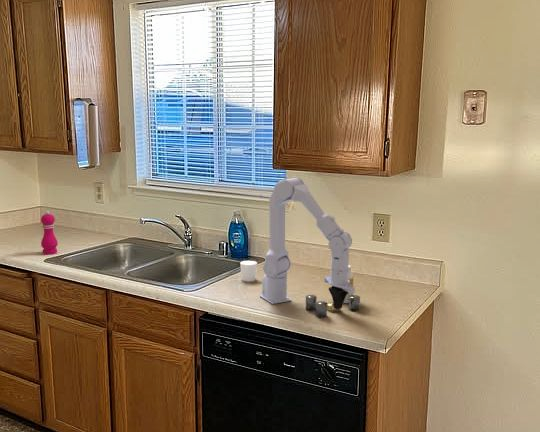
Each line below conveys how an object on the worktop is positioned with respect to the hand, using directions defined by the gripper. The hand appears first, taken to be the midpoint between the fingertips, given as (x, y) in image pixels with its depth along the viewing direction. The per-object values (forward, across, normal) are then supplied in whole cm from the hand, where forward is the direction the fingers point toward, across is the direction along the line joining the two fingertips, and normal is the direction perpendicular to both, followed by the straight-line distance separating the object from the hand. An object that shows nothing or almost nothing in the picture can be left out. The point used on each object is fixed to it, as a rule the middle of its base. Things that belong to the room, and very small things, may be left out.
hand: (338, 308), depth 184 cm
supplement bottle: (+2, +9, -8) cm, 12 cm away
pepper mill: (+2, +126, +74) cm, 146 cm away
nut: (+2, +3, 0) cm, 3 cm away
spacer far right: (+1, 0, +7) cm, 7 cm away
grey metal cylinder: (+1, 0, -6) cm, 7 cm away
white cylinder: (+2, +47, +10) cm, 48 cm away
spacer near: (+1, +7, +6) cm, 9 cm away
